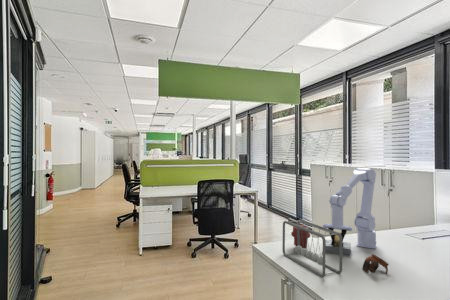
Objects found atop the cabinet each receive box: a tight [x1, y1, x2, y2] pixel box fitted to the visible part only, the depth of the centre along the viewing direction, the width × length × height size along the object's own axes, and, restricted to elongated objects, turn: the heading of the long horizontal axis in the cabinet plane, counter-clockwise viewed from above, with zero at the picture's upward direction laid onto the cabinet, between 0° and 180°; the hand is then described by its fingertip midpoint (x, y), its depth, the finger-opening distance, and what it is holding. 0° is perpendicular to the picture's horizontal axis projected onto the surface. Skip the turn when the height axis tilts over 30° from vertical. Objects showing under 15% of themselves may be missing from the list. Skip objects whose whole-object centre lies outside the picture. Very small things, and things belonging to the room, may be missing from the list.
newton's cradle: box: [282, 218, 343, 278], centre depth 132 cm, size 30×10×18 cm, turn 23°
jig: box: [325, 239, 352, 257], centre depth 150 cm, size 13×11×4 cm
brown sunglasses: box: [361, 253, 389, 275], centre depth 123 cm, size 12×10×8 cm
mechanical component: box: [290, 224, 311, 249], centre depth 154 cm, size 12×10×10 cm
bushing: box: [333, 231, 341, 246], centre depth 150 cm, size 4×4×7 cm
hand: (337, 242), depth 150 cm, fingers closed on bushing, 4 cm apart
